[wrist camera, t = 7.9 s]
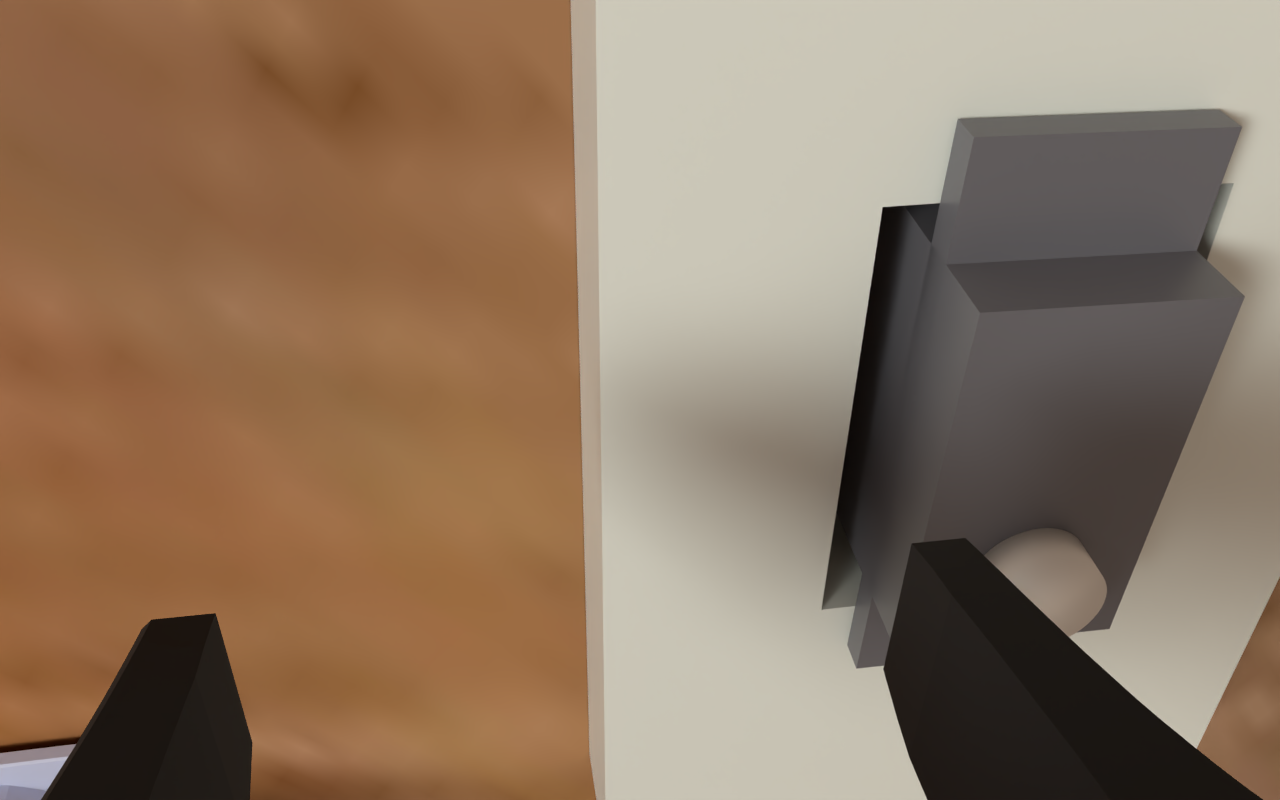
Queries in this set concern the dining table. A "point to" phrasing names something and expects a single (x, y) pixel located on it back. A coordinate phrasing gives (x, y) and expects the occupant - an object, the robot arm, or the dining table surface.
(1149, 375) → the block
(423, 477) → the dining table surface
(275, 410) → the dining table surface
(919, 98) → the chassis
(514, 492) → the dining table surface
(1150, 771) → the robot arm
